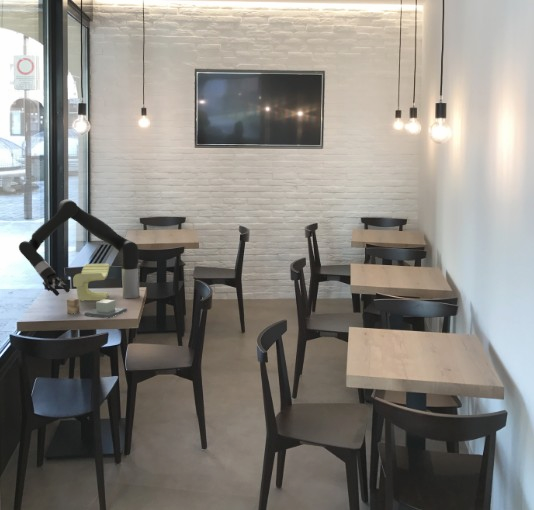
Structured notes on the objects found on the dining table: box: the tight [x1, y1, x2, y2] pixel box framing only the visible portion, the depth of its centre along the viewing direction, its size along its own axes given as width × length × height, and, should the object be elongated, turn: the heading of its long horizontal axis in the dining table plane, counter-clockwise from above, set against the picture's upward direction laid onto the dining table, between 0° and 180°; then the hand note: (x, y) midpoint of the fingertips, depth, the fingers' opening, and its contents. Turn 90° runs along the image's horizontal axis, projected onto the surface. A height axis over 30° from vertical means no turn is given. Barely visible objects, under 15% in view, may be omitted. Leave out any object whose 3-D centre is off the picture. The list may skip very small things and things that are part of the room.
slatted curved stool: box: [72, 263, 110, 302], centre depth 419 cm, size 30×16×18 cm, turn 4°
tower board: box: [83, 299, 128, 319], centre depth 385 cm, size 16×16×7 cm
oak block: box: [66, 297, 80, 314], centre depth 386 cm, size 4×4×8 cm
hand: (63, 293), depth 388 cm, fingers open, 8 cm apart
